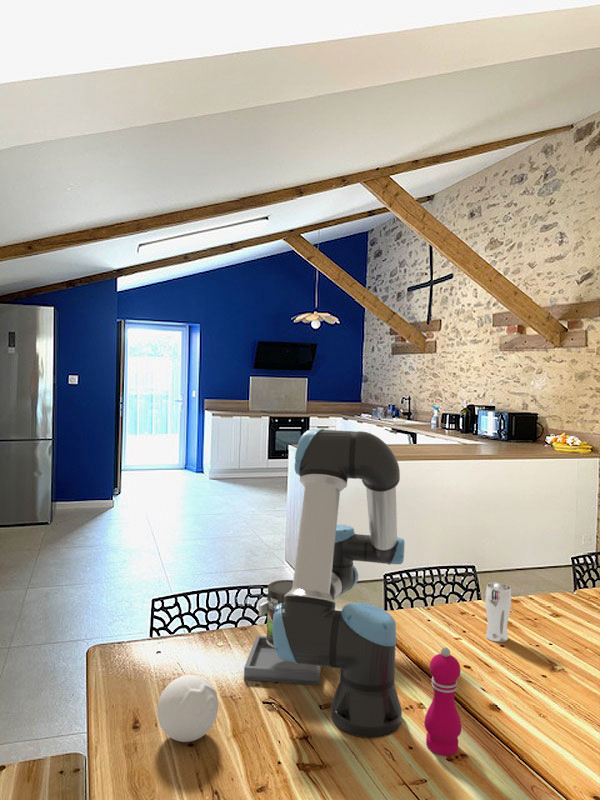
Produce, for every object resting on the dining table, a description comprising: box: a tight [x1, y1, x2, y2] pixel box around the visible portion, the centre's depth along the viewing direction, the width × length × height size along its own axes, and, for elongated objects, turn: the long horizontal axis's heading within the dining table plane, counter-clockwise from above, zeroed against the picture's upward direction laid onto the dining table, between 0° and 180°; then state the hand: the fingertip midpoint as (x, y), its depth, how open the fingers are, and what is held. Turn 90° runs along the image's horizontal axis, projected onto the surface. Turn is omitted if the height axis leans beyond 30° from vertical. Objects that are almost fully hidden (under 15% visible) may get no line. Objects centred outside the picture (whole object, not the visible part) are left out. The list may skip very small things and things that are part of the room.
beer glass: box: [484, 581, 512, 643], centre depth 171 cm, size 7×7×15 cm
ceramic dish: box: [243, 635, 322, 686], centre depth 152 cm, size 18×18×3 cm
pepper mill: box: [424, 647, 462, 756], centre depth 119 cm, size 7×7×20 cm
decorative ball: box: [156, 674, 219, 743], centre depth 120 cm, size 12×12×12 cm
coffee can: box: [266, 579, 293, 648], centre depth 152 cm, size 10×10×14 cm
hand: (277, 615), depth 148 cm, fingers closed on coffee can, 10 cm apart
